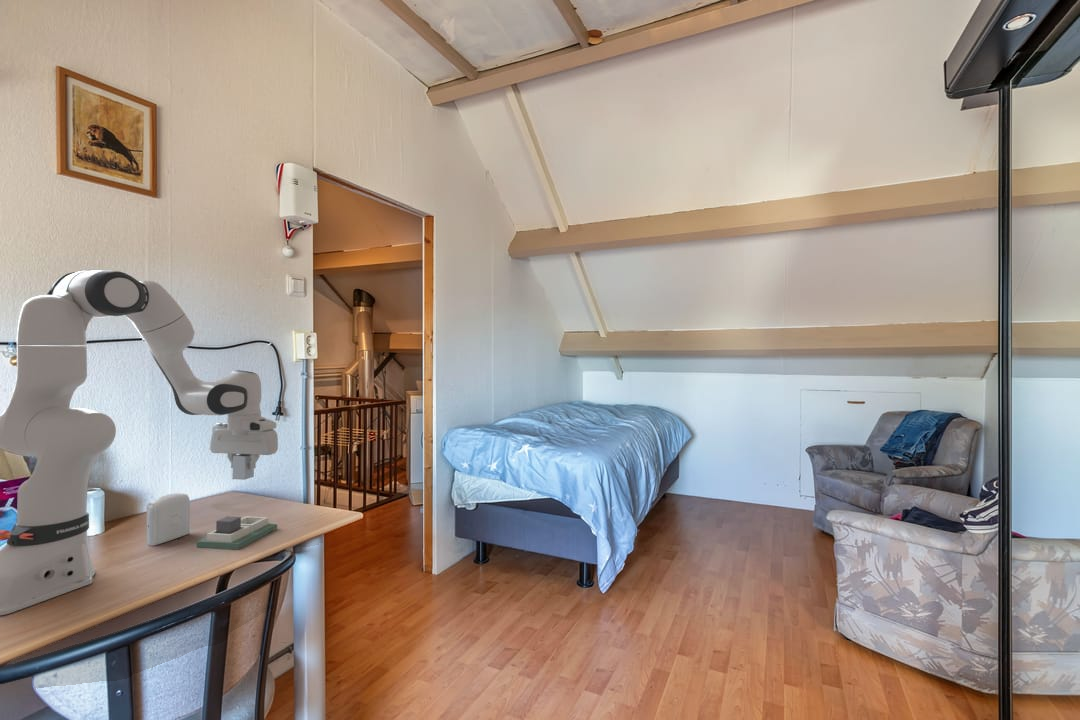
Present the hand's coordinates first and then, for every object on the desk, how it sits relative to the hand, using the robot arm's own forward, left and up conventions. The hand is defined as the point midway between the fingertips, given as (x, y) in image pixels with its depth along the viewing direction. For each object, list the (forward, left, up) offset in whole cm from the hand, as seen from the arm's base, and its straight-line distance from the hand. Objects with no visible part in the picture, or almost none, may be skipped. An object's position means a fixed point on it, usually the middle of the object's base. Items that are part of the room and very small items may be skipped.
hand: (243, 468), depth 151 cm
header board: (-12, -8, -17) cm, 22 cm away
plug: (0, 0, -3) cm, 3 cm away
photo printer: (-16, +10, -17) cm, 25 cm away
